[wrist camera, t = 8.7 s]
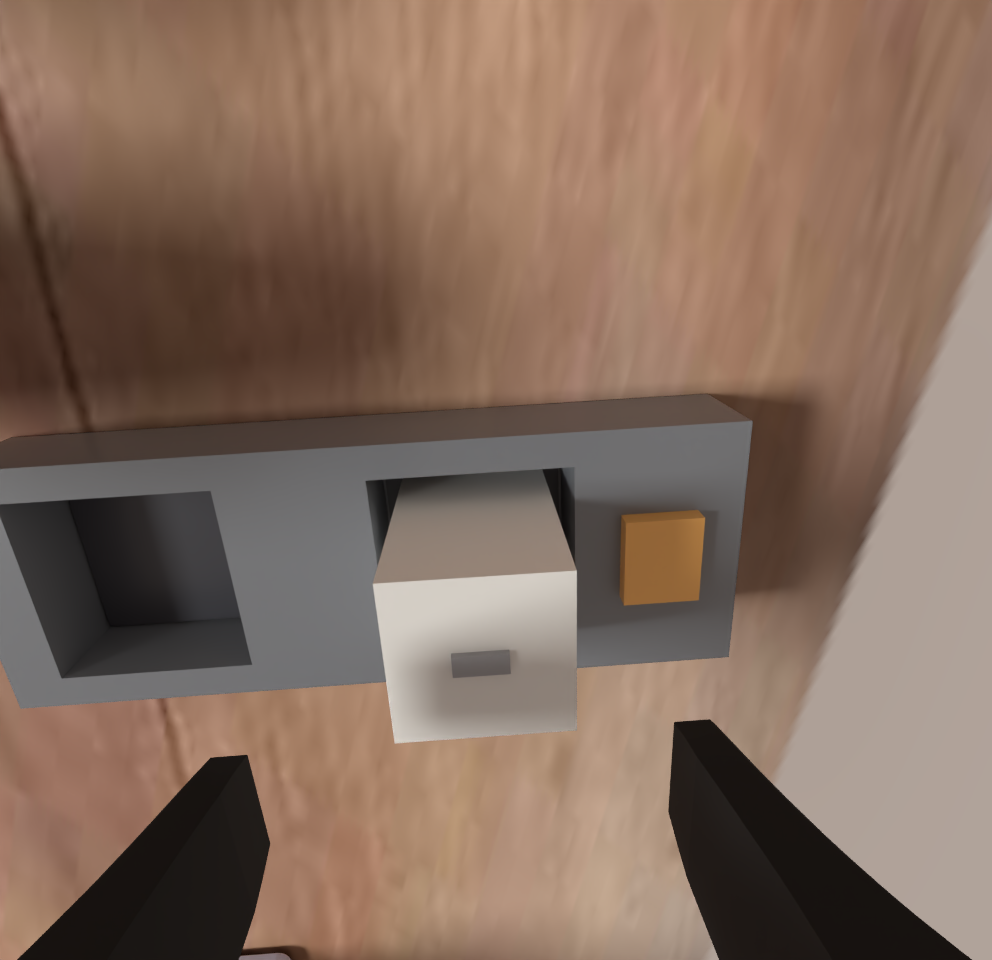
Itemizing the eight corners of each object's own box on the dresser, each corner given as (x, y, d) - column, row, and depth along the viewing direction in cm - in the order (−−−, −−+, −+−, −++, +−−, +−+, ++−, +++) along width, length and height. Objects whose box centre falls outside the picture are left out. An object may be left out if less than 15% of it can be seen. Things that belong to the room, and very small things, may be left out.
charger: (416, 596, 19) (394, 748, 13) (403, 476, 17) (371, 587, 12) (544, 588, 19) (577, 735, 13) (541, 467, 17) (578, 574, 12)
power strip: (84, 643, 20) (7, 721, 16) (11, 437, 17) (-96, 481, 14) (692, 600, 20) (735, 668, 17) (707, 393, 18) (762, 426, 14)
